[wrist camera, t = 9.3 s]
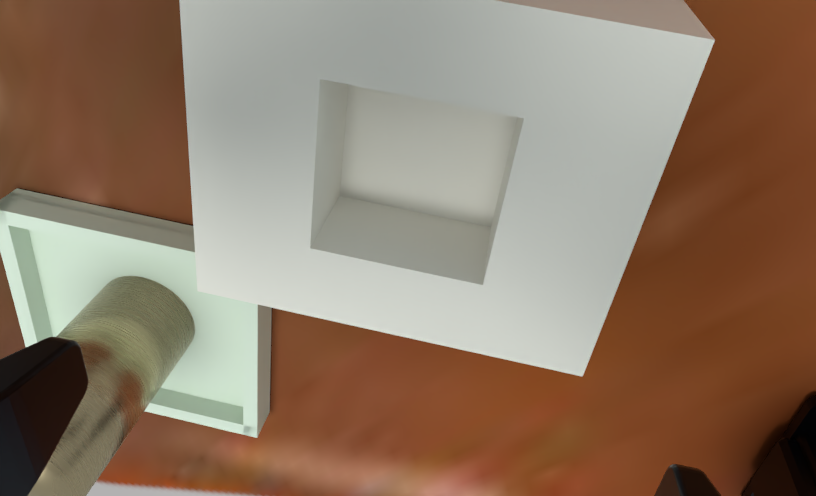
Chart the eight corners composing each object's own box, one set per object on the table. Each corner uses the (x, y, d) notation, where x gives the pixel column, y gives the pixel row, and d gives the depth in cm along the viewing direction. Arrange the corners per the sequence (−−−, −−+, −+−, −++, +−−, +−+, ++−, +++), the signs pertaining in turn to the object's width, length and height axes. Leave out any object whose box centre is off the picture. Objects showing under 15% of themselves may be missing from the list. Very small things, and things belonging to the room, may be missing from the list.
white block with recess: (682, -1, 17) (715, 40, 14) (577, 296, 23) (582, 376, 19) (244, -79, 18) (175, -58, 15) (246, 225, 24) (197, 291, 20)
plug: (192, 288, 25) (63, 455, 18) (197, 363, 27) (84, 537, 20) (93, 266, 25) (-69, 423, 19) (106, 343, 27) (-34, 508, 21)
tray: (272, 243, 24) (257, 265, 23) (269, 411, 29) (257, 437, 28) (17, 188, 24) (-12, 207, 23) (57, 361, 30) (35, 385, 28)
